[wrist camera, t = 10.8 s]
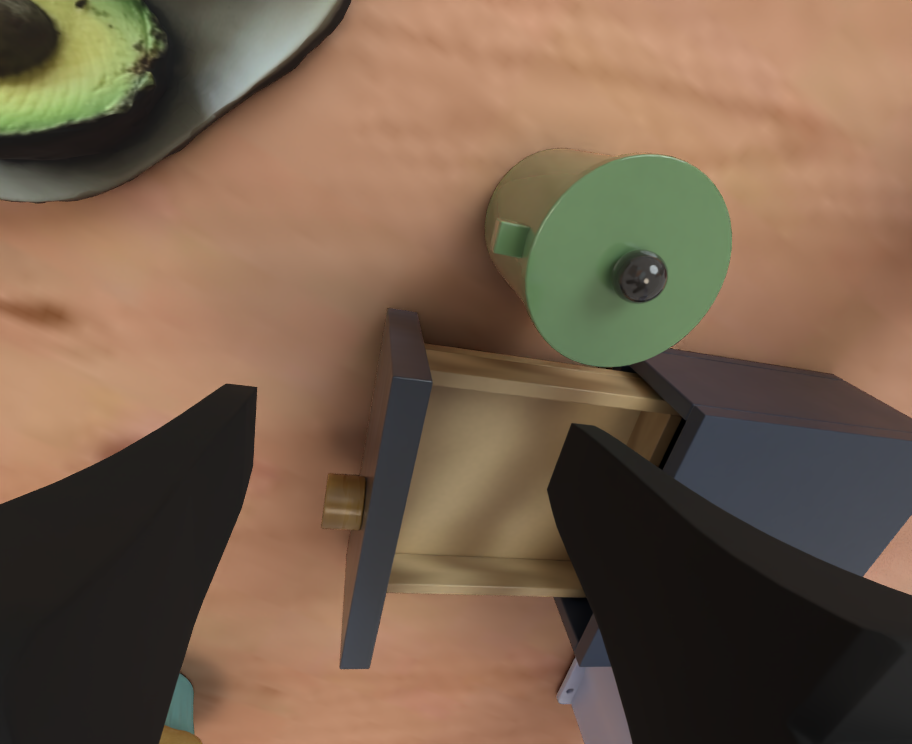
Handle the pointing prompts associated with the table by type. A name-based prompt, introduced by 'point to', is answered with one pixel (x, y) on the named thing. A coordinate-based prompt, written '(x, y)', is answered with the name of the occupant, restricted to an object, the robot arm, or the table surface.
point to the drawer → (470, 473)
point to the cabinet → (777, 462)
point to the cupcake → (180, 716)
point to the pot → (610, 250)
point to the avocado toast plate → (132, 81)
